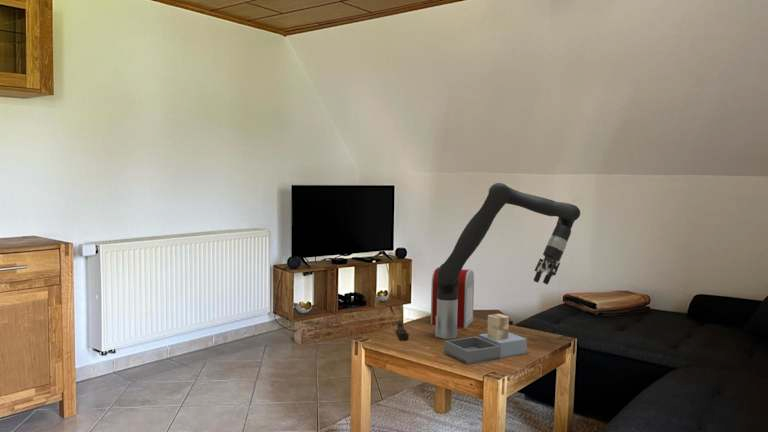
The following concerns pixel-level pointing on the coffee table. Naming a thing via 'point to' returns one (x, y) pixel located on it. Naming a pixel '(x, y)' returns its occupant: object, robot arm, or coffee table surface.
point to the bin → (472, 350)
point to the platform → (509, 344)
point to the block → (498, 326)
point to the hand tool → (402, 331)
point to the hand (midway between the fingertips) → (540, 282)
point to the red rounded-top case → (463, 297)
